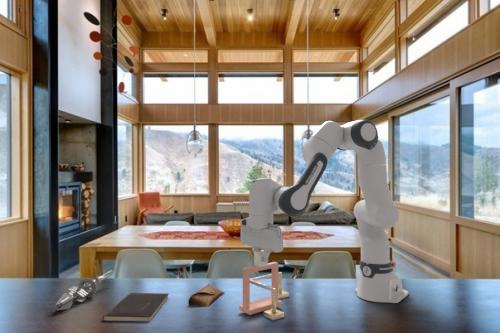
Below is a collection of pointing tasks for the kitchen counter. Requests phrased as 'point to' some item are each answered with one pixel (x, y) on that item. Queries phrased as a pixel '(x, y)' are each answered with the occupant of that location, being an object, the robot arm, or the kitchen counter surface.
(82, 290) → the spaceship
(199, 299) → the sunglasses case
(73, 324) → the kitchen counter surface
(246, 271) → the pink frame with handle
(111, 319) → the hardcover book
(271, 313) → the bent towel rail
